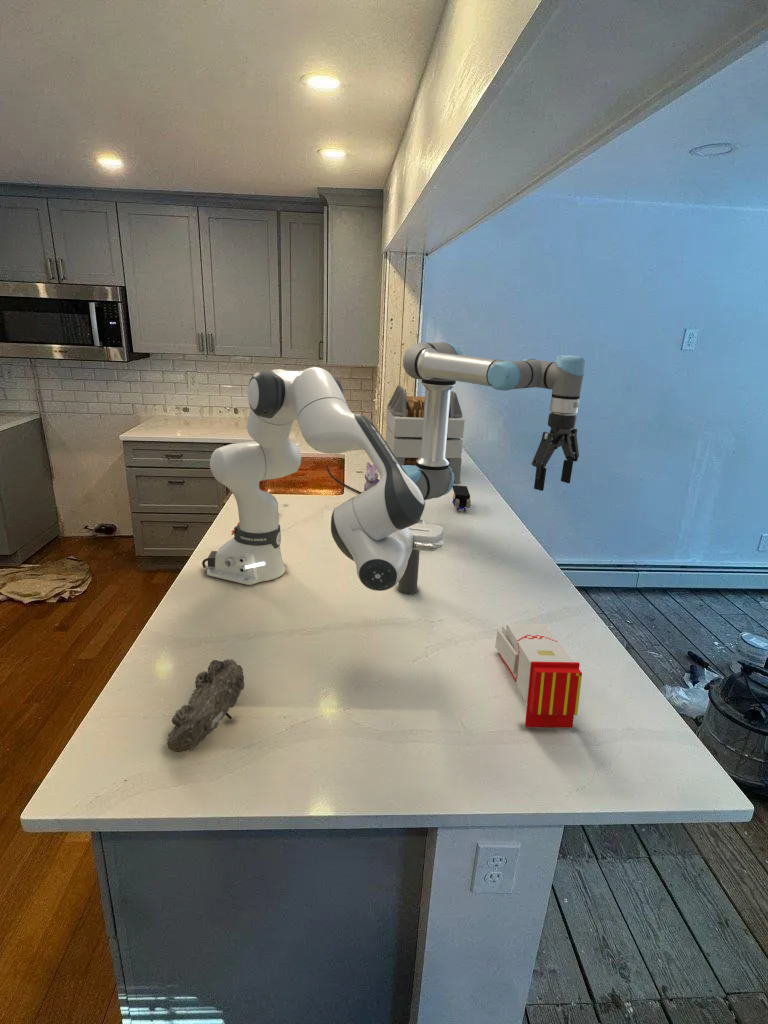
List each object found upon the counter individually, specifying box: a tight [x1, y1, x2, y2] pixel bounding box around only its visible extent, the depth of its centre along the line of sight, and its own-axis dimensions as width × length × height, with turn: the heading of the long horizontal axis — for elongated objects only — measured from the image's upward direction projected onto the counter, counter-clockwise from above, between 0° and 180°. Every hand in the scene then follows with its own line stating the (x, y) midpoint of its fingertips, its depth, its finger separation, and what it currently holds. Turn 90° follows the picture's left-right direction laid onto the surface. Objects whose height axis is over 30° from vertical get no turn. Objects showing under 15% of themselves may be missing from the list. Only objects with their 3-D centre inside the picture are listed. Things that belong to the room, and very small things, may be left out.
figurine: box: [363, 461, 380, 492], centre depth 235 cm, size 9×10×15 cm
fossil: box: [166, 658, 245, 754], centre depth 106 cm, size 22×10×15 cm
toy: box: [494, 623, 583, 729], centre depth 120 cm, size 12×13×30 cm
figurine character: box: [451, 484, 472, 513], centre depth 228 cm, size 7×8×15 cm
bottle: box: [397, 550, 421, 594], centre depth 158 cm, size 5×5×18 cm
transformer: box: [384, 384, 465, 484], centre depth 268 cm, size 34×33×41 cm
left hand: (401, 521), depth 130 cm, fingers open, 8 cm apart
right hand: (552, 485), depth 166 cm, fingers open, 13 cm apart
